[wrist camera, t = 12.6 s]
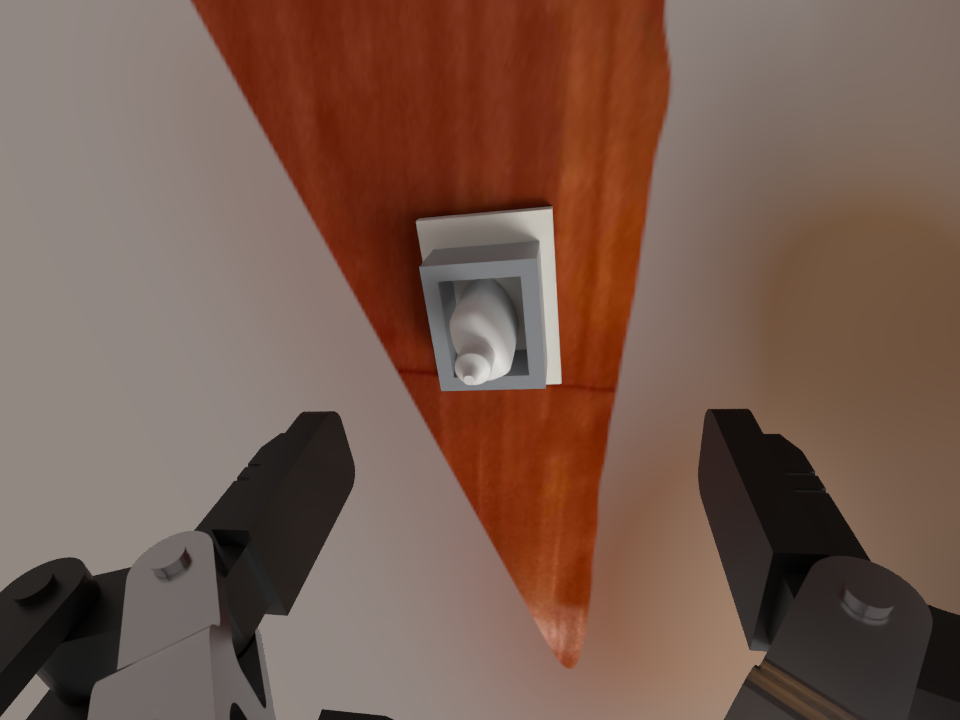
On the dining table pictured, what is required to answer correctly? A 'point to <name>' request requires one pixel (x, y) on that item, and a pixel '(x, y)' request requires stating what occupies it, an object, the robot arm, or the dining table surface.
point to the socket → (511, 263)
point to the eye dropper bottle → (484, 332)
